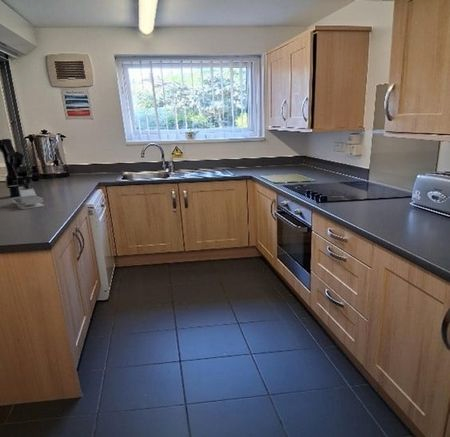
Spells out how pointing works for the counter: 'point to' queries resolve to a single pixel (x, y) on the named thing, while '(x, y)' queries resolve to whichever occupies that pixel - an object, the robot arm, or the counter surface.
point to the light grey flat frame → (18, 202)
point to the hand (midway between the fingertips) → (27, 188)
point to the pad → (30, 206)
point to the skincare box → (28, 197)
